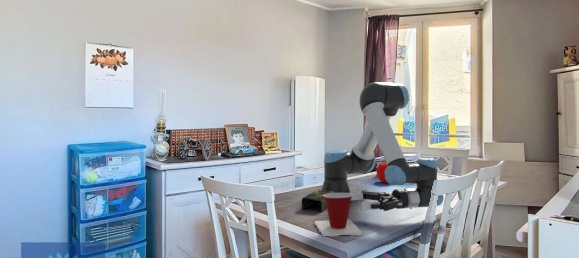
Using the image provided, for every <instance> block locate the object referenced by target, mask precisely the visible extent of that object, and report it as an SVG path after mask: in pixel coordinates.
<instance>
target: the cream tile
mask: <svg viewBox="0 0 579 258" xmlns="http://www.w3.org/2000/svg"><path fill="white" fill-rule="evenodd" d="M314 226H315V227H316V226H317V227H316V228H317V230H318V229H319V230H318V231H319V233H320V232H321V233H320V235H321V234H322V235H323V236H329V237H339V236H338V235H351V236H360V235H359V234H362V235H363V232H362V231H361V229H359V228H358V227H357V225H356V224H355V223H353V221H352V220H351V219H347V224H346V227H345V228H333V227H331V226H330V222H329V220H315V221H314ZM322 235H321V236H322ZM323 236H322V237H323Z"/></svg>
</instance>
